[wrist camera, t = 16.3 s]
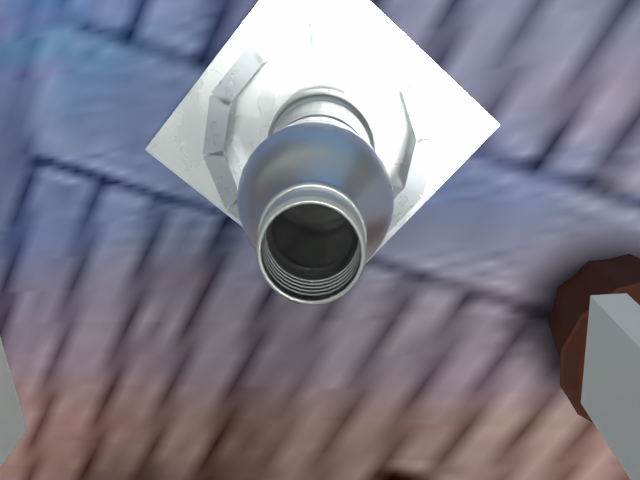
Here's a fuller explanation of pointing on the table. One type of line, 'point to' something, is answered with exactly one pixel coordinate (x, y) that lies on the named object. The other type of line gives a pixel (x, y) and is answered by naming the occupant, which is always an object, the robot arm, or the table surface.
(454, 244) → the table surface
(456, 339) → the table surface
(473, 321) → the table surface
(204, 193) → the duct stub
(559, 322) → the muffin
